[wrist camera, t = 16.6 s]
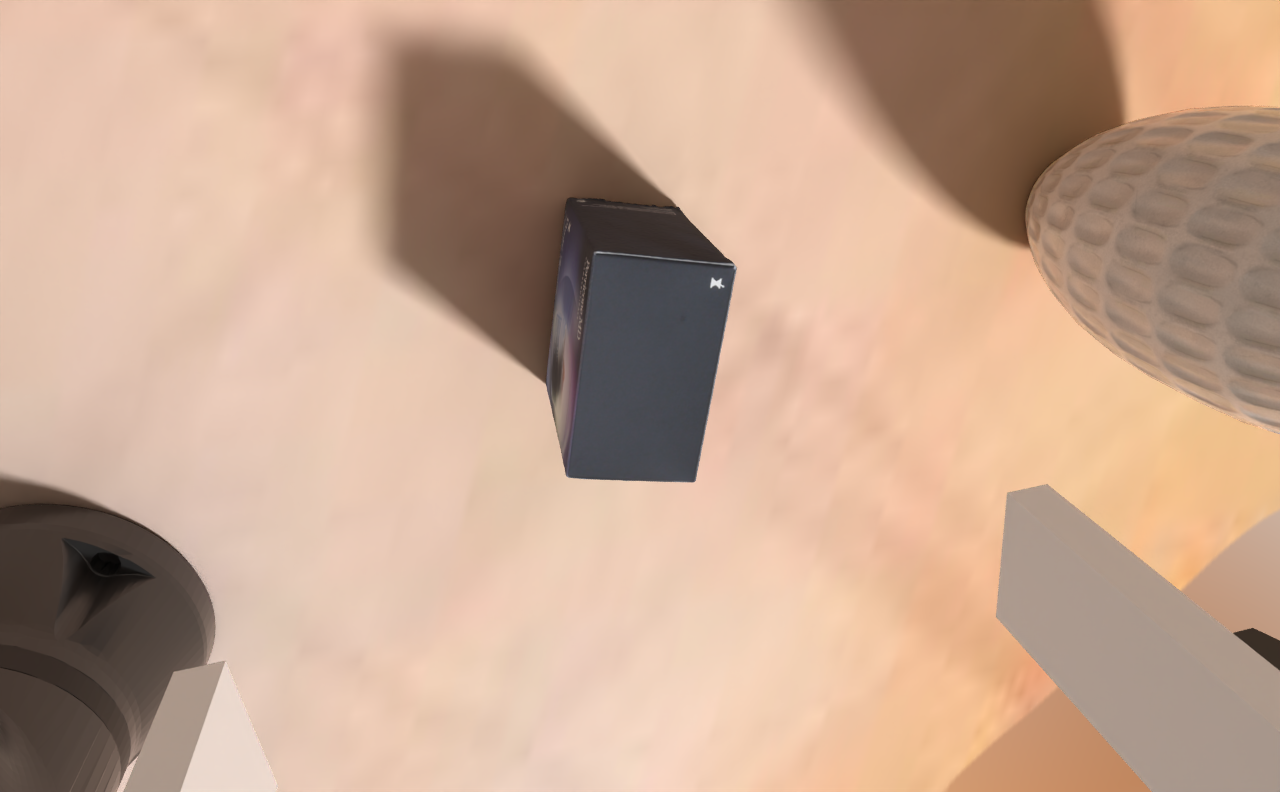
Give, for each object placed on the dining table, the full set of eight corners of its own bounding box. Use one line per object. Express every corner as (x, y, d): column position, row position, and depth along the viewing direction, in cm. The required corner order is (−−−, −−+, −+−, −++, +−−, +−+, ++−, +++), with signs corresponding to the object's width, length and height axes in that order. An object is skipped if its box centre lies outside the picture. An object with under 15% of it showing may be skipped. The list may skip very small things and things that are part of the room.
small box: (558, 192, 43) (588, 245, 33) (683, 206, 44) (745, 259, 35) (538, 387, 47) (560, 482, 37) (654, 393, 48) (702, 486, 39)
